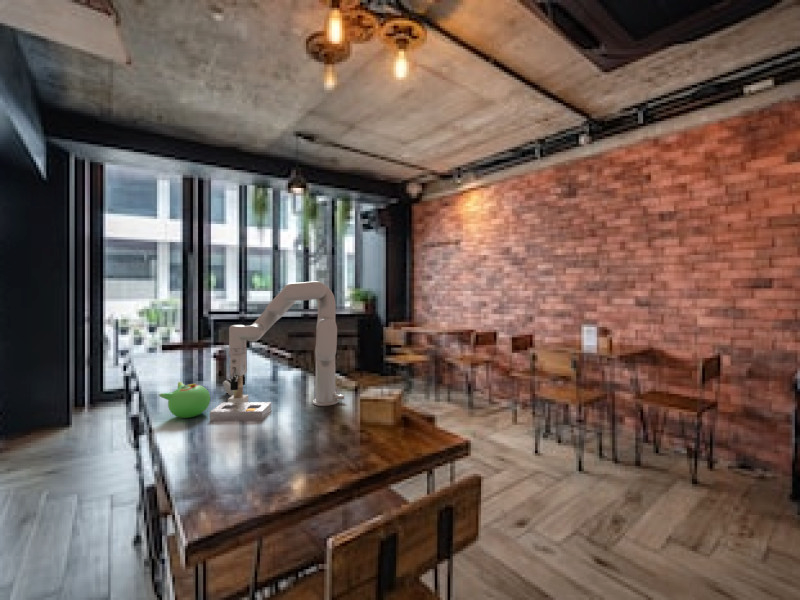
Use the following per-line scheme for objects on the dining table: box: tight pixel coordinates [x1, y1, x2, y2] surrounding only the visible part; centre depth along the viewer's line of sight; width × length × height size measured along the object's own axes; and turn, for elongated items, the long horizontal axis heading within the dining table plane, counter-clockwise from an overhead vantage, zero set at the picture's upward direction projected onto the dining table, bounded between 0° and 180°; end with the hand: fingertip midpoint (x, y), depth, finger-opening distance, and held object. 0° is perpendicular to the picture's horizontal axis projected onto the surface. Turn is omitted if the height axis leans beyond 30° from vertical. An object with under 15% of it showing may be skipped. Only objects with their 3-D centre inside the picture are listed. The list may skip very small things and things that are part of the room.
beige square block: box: [227, 394, 249, 403], centre depth 197 cm, size 7×7×5 cm
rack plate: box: [209, 401, 272, 422], centre depth 184 cm, size 22×14×4 cm, turn 92°
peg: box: [234, 375, 244, 398], centre depth 197 cm, size 4×4×10 cm
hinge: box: [222, 378, 245, 397], centre depth 217 cm, size 17×5×10 cm, turn 38°
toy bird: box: [158, 381, 211, 419], centre depth 183 cm, size 18×17×15 cm
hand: (237, 387), depth 197 cm, fingers open, 9 cm apart
